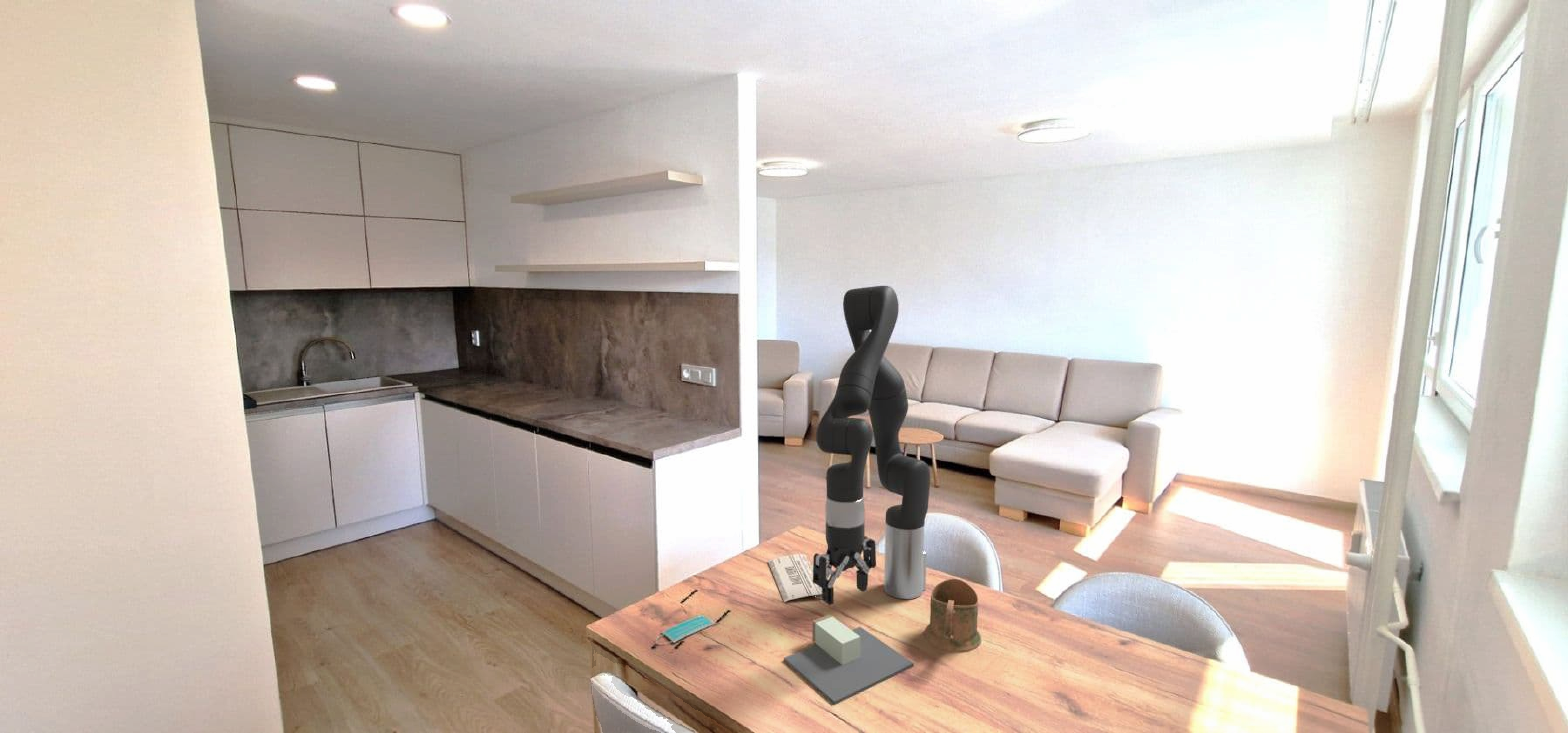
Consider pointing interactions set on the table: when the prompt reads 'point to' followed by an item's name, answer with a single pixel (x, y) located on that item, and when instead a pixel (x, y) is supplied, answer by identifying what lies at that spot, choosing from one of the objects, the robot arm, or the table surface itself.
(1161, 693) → the table surface
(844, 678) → the mat
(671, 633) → the surgical mask
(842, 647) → the block
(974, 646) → the mug
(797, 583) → the newspaper
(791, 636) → the table surface
